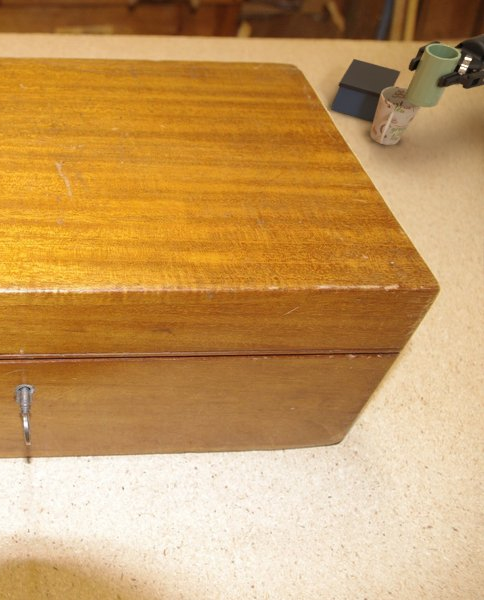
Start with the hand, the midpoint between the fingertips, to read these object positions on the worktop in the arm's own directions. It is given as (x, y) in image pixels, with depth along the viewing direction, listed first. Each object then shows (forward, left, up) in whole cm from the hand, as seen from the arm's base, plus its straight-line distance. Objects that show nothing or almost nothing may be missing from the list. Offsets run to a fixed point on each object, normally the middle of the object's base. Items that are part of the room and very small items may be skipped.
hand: (425, 73), depth 134 cm
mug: (+2, -6, -20) cm, 21 cm away
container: (+10, -19, -20) cm, 30 cm away
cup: (-1, -2, -6) cm, 6 cm away
